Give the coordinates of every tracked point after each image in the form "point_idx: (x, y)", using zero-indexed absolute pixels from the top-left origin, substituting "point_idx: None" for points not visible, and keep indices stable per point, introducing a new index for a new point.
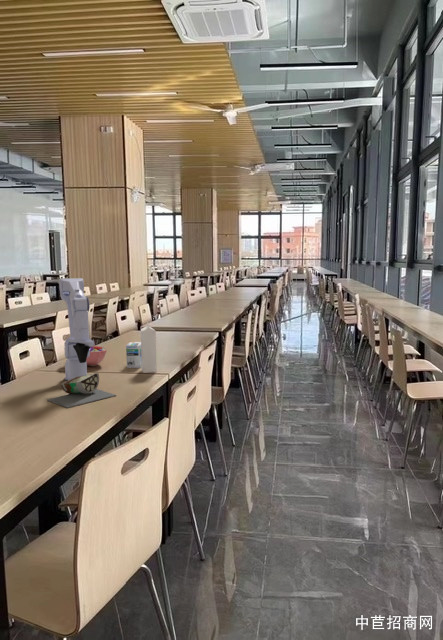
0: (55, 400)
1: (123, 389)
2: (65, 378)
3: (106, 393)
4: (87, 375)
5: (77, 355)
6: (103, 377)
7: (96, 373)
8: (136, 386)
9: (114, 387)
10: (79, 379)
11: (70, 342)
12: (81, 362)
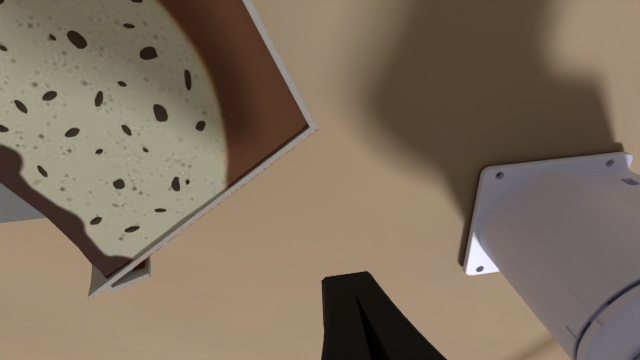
0: None
1: (92, 316)
2: (608, 157)
3: (1, 199)
4: (179, 207)
5: (422, 341)
6: (442, 325)
7: (106, 281)
8: None
9: (179, 296)
10: (73, 74)
11: None
12: (323, 284)
